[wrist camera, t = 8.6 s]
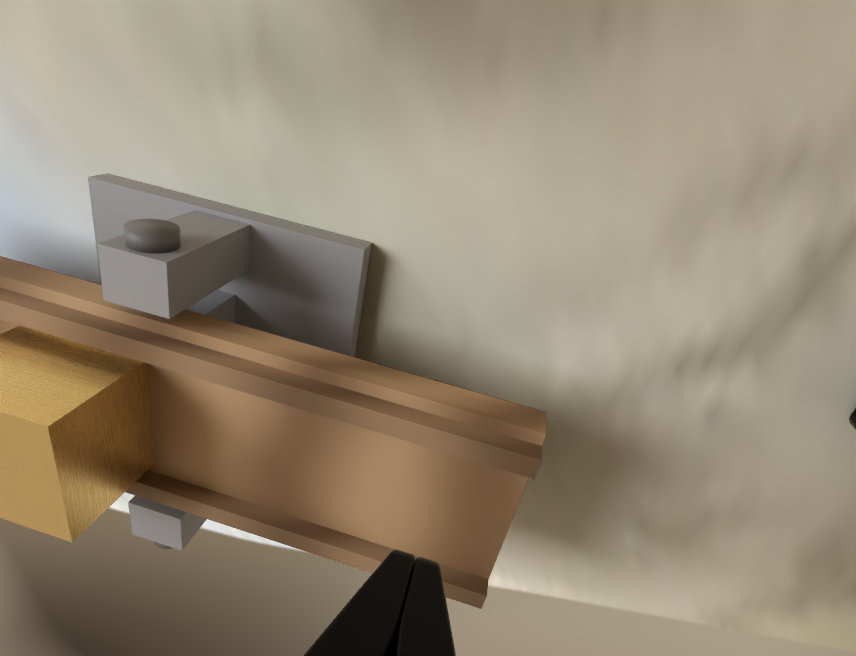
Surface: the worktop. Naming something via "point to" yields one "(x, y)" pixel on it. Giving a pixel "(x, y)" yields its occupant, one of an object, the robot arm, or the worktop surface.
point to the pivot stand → (222, 283)
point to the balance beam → (305, 435)
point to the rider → (68, 430)
